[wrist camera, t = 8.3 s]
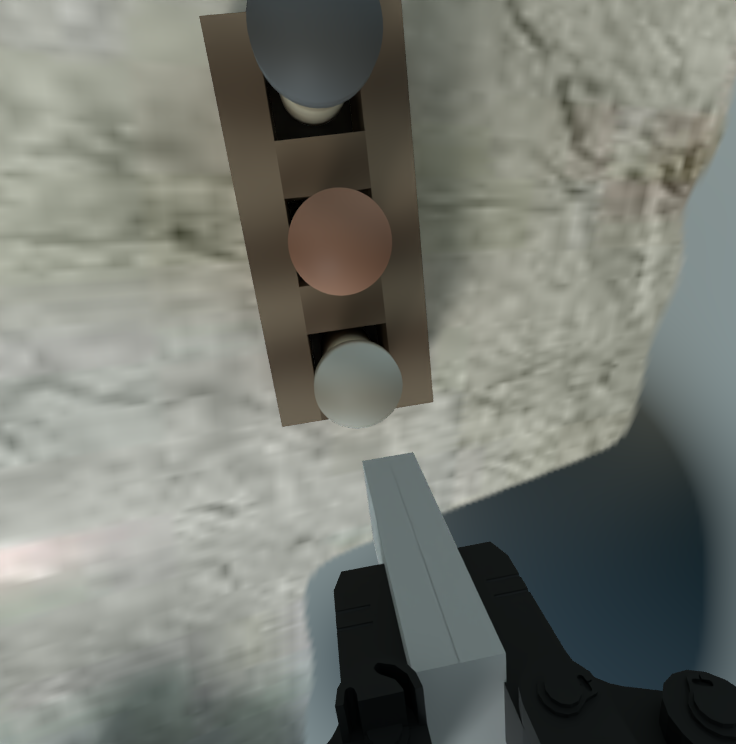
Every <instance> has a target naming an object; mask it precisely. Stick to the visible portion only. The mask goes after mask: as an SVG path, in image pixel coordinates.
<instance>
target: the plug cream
mask: <svg viewBox="0 0 736 744" xmlns="http://www.w3.org/2000/svg"><path fill="white" fill-rule="evenodd" d="M321 349H322V358H321V360H320V361H319V363H318V365H317V367H316V370H315V375H314V393H315V398H316V401H317V404H318V406H319V408H320V410H321V411H322V412H323V414H324V415H325V416H326V417H327V418H329V419H330V420H331V421H333V422H334V423H336V424H338V425H341V426H344V427H348V428H365V427H370V426H373V425H375V424H377V423H379V422H381V421H383V420H384V419H385V418H387V417H388V416H389V415H390V414H391V413H392V412H393V411H394V409H395V408H396V406H397V404H398V403H399V400H400V398H401V394H402V387H403V383H402V376H401V372H400V370H399V368H398V366H397V364H396V362H395V361H394V359H393V358H392V356H391V355H390V354H389V353H388V351H386V350H385V349H384V348H383V347H381V346H380V345H378V344H376V343H374V342H371V341H370V339H369V337H368V335H367V333H366V332H365V330H364V329H363V328H362V327H355V328H348V329H341V330H334V331H328V332H325V334H324V336H323V338H322V342H321Z"/></svg>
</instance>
